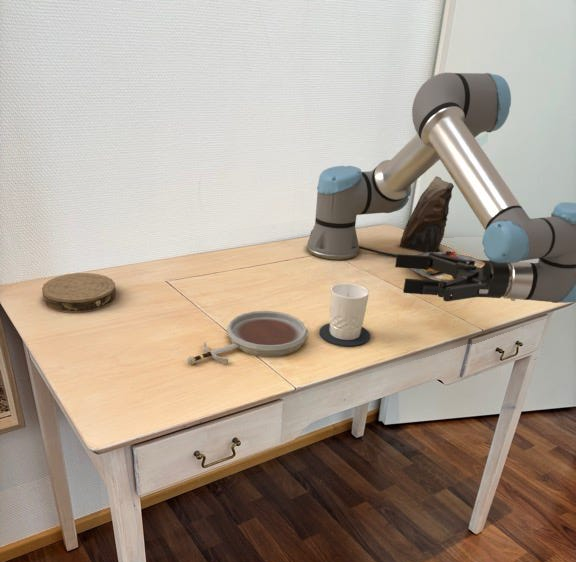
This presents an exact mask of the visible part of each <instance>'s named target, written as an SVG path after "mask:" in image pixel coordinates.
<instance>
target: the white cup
mask: <svg viewBox="0 0 576 562" xmlns="http://www.w3.org/2000/svg"><path fill="white" fill-rule="evenodd" d="M369 295H370V292H369V290H368V288H366V287H365V286H362V285H360V284H357V283H351V282H350V283H349V282H343V283H336V284H333V285H332V286H331V288H330V300H329V301H330V302H329V323H330V328H329V331H330V334H331V335H332V336H334V337H335V338H338V339H342V340H353V339H356V338H358V337H359V336H360V334H361V329H362V327H363V324H364V320H365V315H366V311H367V305H368V300H369Z"/></svg>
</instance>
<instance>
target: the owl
mask: <svg viewBox="0 0 576 562" xmlns="http://www.w3.org/2000/svg"><path fill="white" fill-rule="evenodd" d="M454 188H455V186H454V184H453V183H452V182H448V181H445V180H443V179H442V178H441V176H440V177H439V176H435V177H434V178H433V180H432V181H431V182H430V183H429V184H428V186H427V188H425V190H424V191H423V192H422V193H421V195H420V197H419V199H418V201H417V203H416V205H415V207H414V209H413V210H412V212H411V215H410V216H409V219H408V220H407V222H406V224H405V228H404V230H403V232H402V235H401V238H400V244H399V248H403V249H408V250H412V251H413V250H414V251H417V252H420V253H426V252H428V253H429V252H441V250H440V246H441V242H442V241H443V238H444V236H445V232H446V231H445V230H446V227H447V221H448V215H449V213H450V211H449V209H450V207H449V206H450V201H451V199H452V197H453V196H452V195H453V193H452V192H453V189H454Z"/></svg>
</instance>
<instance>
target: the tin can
mask: <svg viewBox="0 0 576 562" xmlns="http://www.w3.org/2000/svg"><path fill="white" fill-rule="evenodd" d="M41 292H42V298H43V302H44V305H45V306H46V307H48V308H49V309H51V310H54V311H56V312H61V313H69V314H75V313H76V314H77V313H89V312H94V311H97V310H101V309H104V308H106V307H108V306H110V305H111V304H113V303H114V302H115V301H116V298H117V291H116V283H115V281H114V280H113V278H111V277H108V276H106V275H104V274H103V275H102V274H99V273H92V272H75V273H68V274H63V275H60V276H55V277H54V278H51V279H49V280H48V281H46V282H45V283H44V284H43V285H42V288H41Z"/></svg>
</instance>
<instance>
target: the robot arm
mask: <svg viewBox="0 0 576 562" xmlns="http://www.w3.org/2000/svg"><path fill="white" fill-rule="evenodd" d="M511 93H512V92H511V89H510V86H509V83H508V82H507V80H506V79H505V78H504V77H503V76H502V75H499V74H493V73H490V72H484V73H482V72H481V73H479V72H478V73H477V72H476V73H475V72H473V73H472V72H471V73H470V72H468V73H467V72H441V73H438V74H435V75H433V76H431V77H430V78H428V79H427V80H426V81H425V82H424V83H423V84H422V85H421V86H420V87H419V89H418V91H417V92H416V94H415V97H414V99H413V102H412V108H411V116H412V124H413V127H414V130H415V132H416V134H415V135H414V136H413V137H412V138H411V139H410V140H409V141H408V142H407V143H406V144H405V145H404V146H403V147H402V148H401V149H400V150H399V151H398V152H397V153H396V154H395V155H394V156H393V157H392V158H391V159H385V160H382V161H381V162H379V164H377V166H376V167H375V168H373V169H372V170H370V171H362V169H361V168H359V167H357V166H354V165H346V166H345V165H337V166H332V167H327V168H326V169H324V170H323V171H322V172H321V173H320V174H319V177H318V182H317V186H316V190H317V192H316V207H315V218H314V225H313V228H312V230H311V231H310V235H309V238H308V240H307V244H306V252H307V253H309V254H310V255H312V256H314V257H317V258H320V259H323V260H324V259H325V260H332V261H343V260H350V259H354V258H355V257H357V256H358V255H359V251H360V250H364V251H368V252H371V253H375V254H379V255H383V256H389V257H395V258H396V259H395V264H394V267H395V268H401V269H409V268H413V269H425V270H428V269H429V268H430V269H433V270H436V271H439V272H442V273H445V274H448V275H451V276H452V277H453V279H454V280H451V281H447V282H446V281H444V280H443V281H442V280H441V282H440V281H436V280H433V279H419V278H405V279H404V284H403V290H402V292H403V294H411V295H413V294H415V295H425V296H426V295H427V296H437V297H439V298H442V300H443V302H453V301H454V302H455V301H459V300H460V301H461V300H467V299H474V298H490V299H501V298H503V299H508V300H510V301H512V302H515V301H516V300H521V301H536V302H545V303H554V304H558V303H559V304H568V303H569V304H570V303H576V202H569V201H563V202H559V203H557V204H556V205H555V206H554V208H553V209H552V212H551V213H550V216H546V217H536V218H535V217H534V218H532V217H531V218H530V217H529V215H528V213H527V212H526V210H524V208H523V207H522V205H521V204H520V202H519V200H518V199H517V198H516V196H515V195H514V193H513V192H512V191H511V189H510V188H509V186H508V185H507V183H506V182H505V180H504V179H503V177H502V176H501V175H500V173H499V172H498V170H497V169H496V167H495V166H494V164H493V162H492V161H491V160H490V158H489V157H488V155H487V153H486V152H485V151H484V149H483V148H482V147H481V145H480V144H479V143H478V142H479V141H478V140H477V139H476V138H477V137H478V136H479V135H481V134H482V133H485V132H486V133H493V132H496V131H498V130H499V129H501V128H502V127H503V125H504V124H505V123H506V121H507V119H508V118H509V115H510V109H511V105H512V94H511ZM439 161H440V163H442V166H443V167H444V168H445V170H446V171H447V173H448V174H449V176H450V178H451V179H452V181H453V182H454V184H455V185H456V187H457V188H458V190H459V192H460V193H461V194H462V196H463V198H464V199H465V201H466V203H467V204H468V206H469V208H470V209H471V210H472V212H473V213H474V215H475V217H476V218H477V220H478V221H479V223H480V224H481V226H482V227H483V229H484V232H483V234H482V235H483V236H482V240H481V241H482V242H481V243H482V246H483V253H484V255H485V256H486V258H487V259H488V260H484V259H480V260H481V261H482V262H484V263H485V265H484V266H483V267H482V268H480V267H477V266H475V265H474V264H475V261H473V260H464V259H459V258H455V257H450V256H446V255H442V254H437V253H433V252H430V253H429V255H428V256H419V255H417V254H404V253H397V254H395V253H389V252H385V251H381V250H376V249H373V248H369V247H365V246H360V244H359V239H358V235H357V230H356V229H357V228H356V223H357V216H360V215H361V216H362V215H373V214H375V215H376V214H390V213H395V212H398V211H401V210H402V209H403V208H404V207H405V206H406V205H407V204H408V202H409V200H410V198H409V197H410V196H411V193H412V184H413V183H415V182H416V181H417V180H418V179H419V178H421V177H422V176H423V175H424V174H425V173H426V172H427V171H428V170H430V169H431V168H432V167H433V166H434V165H436V164H437V163H438V162H439ZM537 259H538V261H537V262H529V261H530V260H537Z"/></svg>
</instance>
